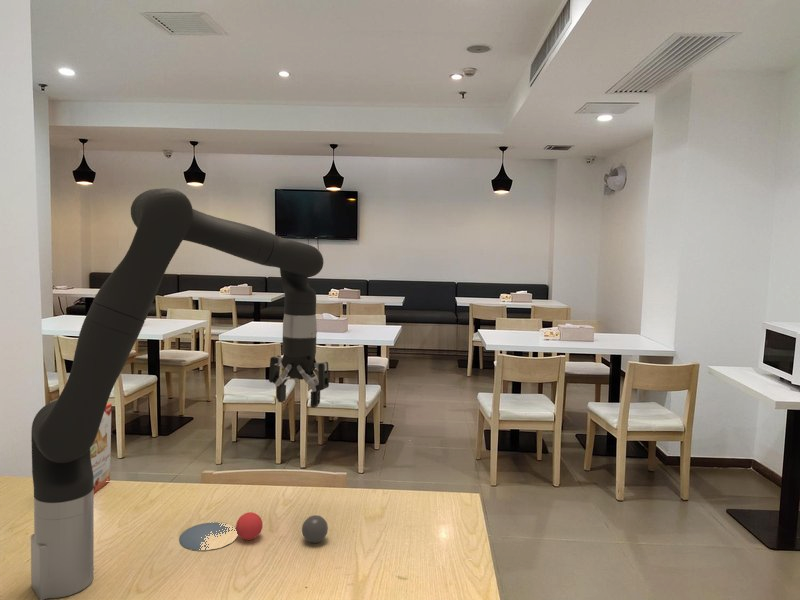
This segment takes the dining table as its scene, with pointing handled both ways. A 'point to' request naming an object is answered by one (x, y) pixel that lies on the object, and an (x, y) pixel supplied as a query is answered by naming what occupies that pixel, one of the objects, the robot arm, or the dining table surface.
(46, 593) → the robot arm
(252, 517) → the red ball
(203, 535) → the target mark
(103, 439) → the cracker box
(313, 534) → the gray ball
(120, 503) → the dining table surface
